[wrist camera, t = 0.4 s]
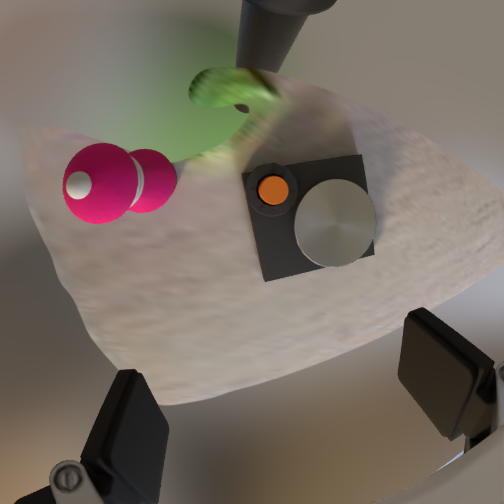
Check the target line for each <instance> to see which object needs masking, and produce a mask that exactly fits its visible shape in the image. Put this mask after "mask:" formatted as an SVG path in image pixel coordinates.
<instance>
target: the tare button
mask: <svg viewBox="0 0 504 504" xmlns="http://www.w3.org/2000/svg"><path fill="white" fill-rule="evenodd" d="M259 195H260V197H261V198H262V199H263V200H264V201H265V202H267V203H269V204H273V205H275V204H280V203H282V202H283V201H284V200H285V199H286V198H287V195H288V185H287V183H286V182H285V180H284V179H282V178H281V177H278V176H269V177H266V178H264V179H263V180H262V181H261V183H260V185H259Z"/></svg>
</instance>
